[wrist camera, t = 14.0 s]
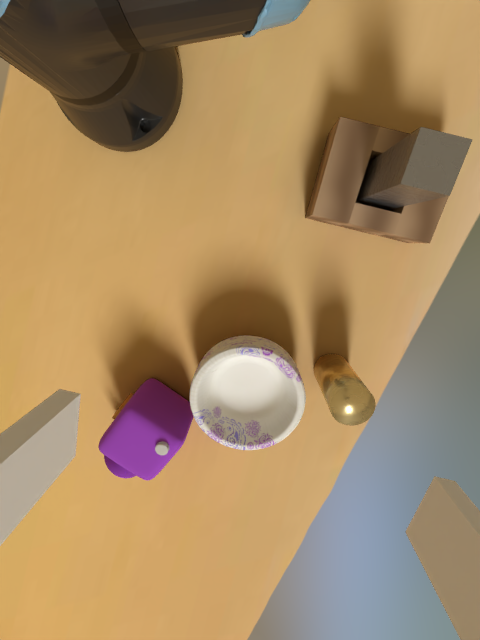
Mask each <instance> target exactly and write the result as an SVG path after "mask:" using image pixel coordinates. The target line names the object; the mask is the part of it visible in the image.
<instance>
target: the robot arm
mask: <svg viewBox="0 0 480 640" xmlns="http://www.w3.org/2000/svg"><path fill="white" fill-rule="evenodd" d="M309 2H310V0H0V57H1V58H3V59H4V60H5V61H7V62H8V63H10V64H11V65H13V66H14V67H15V68H17V69H18V70H20V71H21V72H23V73H24V74H25V75H27V76H28V77H30V78H31V79H33V80H34V81H36V82H37V83H38V84H40V85H41V86H43V87H44V88H46V89H47V90H49V91H50V92H51V94H52V95H53V97H54V98H55V100H56V101H57V103H58V105H59V106H60V108H61V110H62V111H63V113H64V114H65V116H66V117H67V118H68V120H69V121H70V122H71V123H72V124H73V125H74V126H75V127H76V128H77V129H78V130H79V131H80V132H81V133H83V134H84V135H85V136H87V137H88V138H90V139H91V140H93V141H95V142H96V143H98V144H100V145H102V146H104V147H106V148H109V149H112V150H116V151H123V152H130V151H137V150H141V149H144V148H146V147H148V146H150V145H152V144H154V143H155V142H157V141H158V140H159V139H160V138H161V137H162V136H163V135H164V134H165V133H166V132H167V131H168V129H169V128H170V126H171V125H172V123H173V121H174V119H175V117H176V115H177V113H178V110H179V106H180V102H181V97H182V71H181V65H180V61H179V57H178V54H177V51H176V49H175V46H180V45H186V44H191V43H197V42H202V41H208V40H213V39H219V38H224V37H230V36H235V35H241V34H242V35H243V37H251V36H253V35H255V34H256V33H257V32H258V31H261V30H265V29H270V28H274V27H278V26H282V25H286V24H289V23H290V22H292V21H294V20H295V19H297V18H298V16H299V15H300V14H301V12H302V11H303V10H304V9H305V8H306V6H307V5H308V3H309ZM80 395H81V394H79V393H75V392H70V391H66V390H62V389H59V390H58V391H56V392H55V393H54V394H52V395H51V396H50V397H48V398H47V399H46V400H44V401H43V402H42V403H41V404H39V405H38V406H37V407H35V408H34V409H33V410H31V411H30V412H29V413H27V414H26V415H25V416H23V417H22V418H21V419H19V420H18V421H17V422H16V423H14V424H13V425H12V426H10V427H9V428H8V429H6V430H5V431H4V432H2V433H1V434H0V546H1V544H2V543H3V542H4V541H5V540H6V538H7V537H8V536H9V535H10V534H11V532H12V531H13V530H14V529H15V528H16V526H17V525H18V524H19V523H20V522H21V520H22V519H23V518H24V517H25V516H26V514H27V513H28V512H29V511H30V510H31V508H32V507H33V506H34V505H35V504H36V502H37V501H38V500H39V499H40V498H41V496H42V495H43V494H44V493H45V492H46V490H47V489H48V488H49V487H50V486H51V484H52V483H53V482H54V481H55V480H56V478H57V477H58V476H59V475H60V474H61V473H62V471H63V470H64V469H65V468H66V467H67V465H68V464H69V463H70V462H71V461H72V459H73V458H74V457H75V454H76V443H77V431H78V419H79V407H80ZM406 534H407V536H408V538H409V540H410V542H411V544H412V546H413V548H414V550H415V551H416V554H417V555H418V557H419V559H420V561H421V563H422V565H423V567H424V569H425V571H426V573H427V575H428V577H429V579H430V581H431V583H432V585H433V587H434V589H435V591H436V593H437V594H438V596H439V598H440V600H441V602H442V604H443V606H444V608H445V610H446V612H447V614H448V616H449V618H450V620H451V622H452V624H453V626H454V628H455V629H456V631H457V633H458V635H459V637H460V639H461V640H480V511H479V510H478V508H477V507H476V506H475V505H474V504H473V503H472V501H471V500H470V499H469V498H468V497H467V495H466V494H465V493H464V492H463V490H462V489H461V488H460V487H459V485H458V484H457V483H456V482H455V481H452V480H447V479H443V478H439V477H434V479H433V481H432V482H431V484H430V486H429V488H428V490H427V492H426V494H425V496H424V498H423V500H422V501H421V503H420V505H419V507H418V509H417V511H416V513H415V515H414V517H413V519H412V521H411V522H410V524H409V526H408V528H407V530H406Z"/></svg>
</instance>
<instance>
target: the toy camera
mask: <svg viewBox="0 0 480 640" xmlns="http://www.w3.org/2000/svg"><path fill="white" fill-rule="evenodd" d="M112 418H113V419H115V420H114V421H113V422H112V424H111V425H110V426H109V428H108V429H107V430H106V432H105V433H104V435H103V437H102V438H101V440H100V443H99V450H100V451H101V452H102V453H103V454H104V459H105V463H106V465H107V467H108V469H109V470H110V471H111V472H112V473H113V474H114V475H116V476H118V477H122V478H131V477H134V476H138V477H140V478H142V479H144V480H151V479H153V478H154V477H155V476H156V475H157V474H158V473H159V472H160V471H161V470H162V469H163V468H164V466H165V465H166V464H167V463H168V462H169V461H170V459H171V458H172V457H173V456H174V455H175V454H176V452H177V451H178V450H179V449H180V448H181V446H182V445H183V443H184V441H185V439H186V436H187V433H188V430H189V428H190V425H191V422H192V419H193V413H192V410H191V406H190V402H189V401H187V400H186V399H184V398H183V397H182V396H180V395H179V394H177V393H176V392H174V391H173V390H171V389H170V388H169V387H167V386H166V385H164V384H163V383H161V382H160V381H158V380H156V379H153V378H150V379H148V380H146V381H145V382H144V383H143V384H142V385H141V386H140V387H139V389H138V390H137V391H136V392H135V394H134V395H133V394H132V393H131V394H130V395H129V396H128V397H127V399H126V400H125V401H124V402H123V403H122V405H121V406H120V407H119V408H118V410H117V411H116V413H115V414H114V416H113V417H112Z"/></svg>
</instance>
